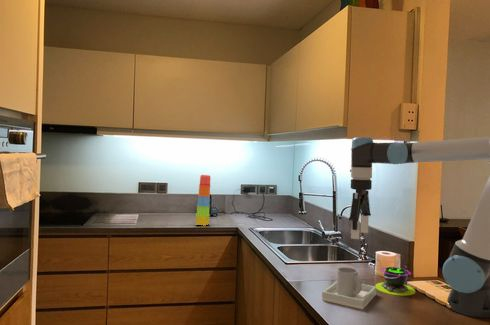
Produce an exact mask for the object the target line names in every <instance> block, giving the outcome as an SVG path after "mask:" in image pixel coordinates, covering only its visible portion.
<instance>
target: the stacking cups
mask: <svg viewBox="0 0 490 325" xmlns="http://www.w3.org/2000/svg"><path fill="white" fill-rule="evenodd" d="M198 186H199V187H198V194H197V196H198V197H197V204H196V213H195V217H196V218H195V224H198V225H208V224H210V216H211V214H210V207H211V204H210V203H211V202H210V201H211V175H210V174H209V175H208V174H201V175H200V177H199V184H198Z"/></svg>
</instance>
